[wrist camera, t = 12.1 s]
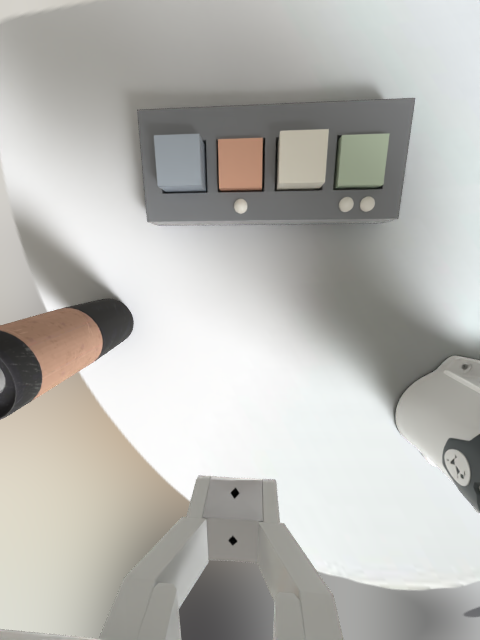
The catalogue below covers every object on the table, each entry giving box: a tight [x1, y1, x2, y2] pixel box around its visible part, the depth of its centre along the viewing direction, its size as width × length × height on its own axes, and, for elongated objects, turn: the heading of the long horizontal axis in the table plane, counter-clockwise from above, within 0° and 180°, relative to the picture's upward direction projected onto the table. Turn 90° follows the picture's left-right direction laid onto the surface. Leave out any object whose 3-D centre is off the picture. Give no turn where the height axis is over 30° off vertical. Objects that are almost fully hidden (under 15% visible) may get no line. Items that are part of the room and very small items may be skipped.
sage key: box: [333, 133, 390, 190], centre depth 30 cm, size 5×5×4 cm
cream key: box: [276, 129, 329, 191], centre depth 29 cm, size 5×5×4 cm
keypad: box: [137, 98, 415, 226], centre depth 31 cm, size 30×12×4 cm, turn 90°
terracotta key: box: [218, 138, 263, 192], centre depth 31 cm, size 5×5×4 cm
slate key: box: [154, 134, 208, 194], centre depth 30 cm, size 5×5×4 cm
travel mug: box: [0, 299, 133, 419], centre depth 30 cm, size 8×8×20 cm
